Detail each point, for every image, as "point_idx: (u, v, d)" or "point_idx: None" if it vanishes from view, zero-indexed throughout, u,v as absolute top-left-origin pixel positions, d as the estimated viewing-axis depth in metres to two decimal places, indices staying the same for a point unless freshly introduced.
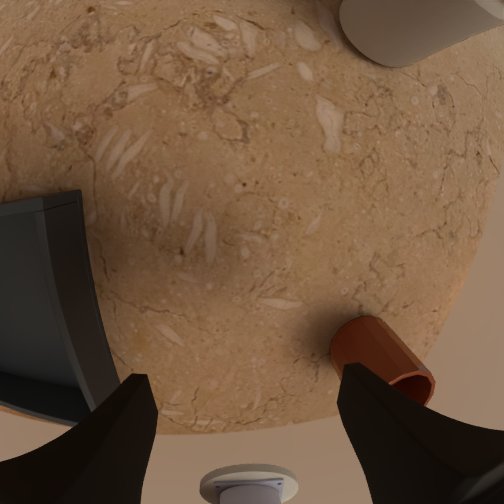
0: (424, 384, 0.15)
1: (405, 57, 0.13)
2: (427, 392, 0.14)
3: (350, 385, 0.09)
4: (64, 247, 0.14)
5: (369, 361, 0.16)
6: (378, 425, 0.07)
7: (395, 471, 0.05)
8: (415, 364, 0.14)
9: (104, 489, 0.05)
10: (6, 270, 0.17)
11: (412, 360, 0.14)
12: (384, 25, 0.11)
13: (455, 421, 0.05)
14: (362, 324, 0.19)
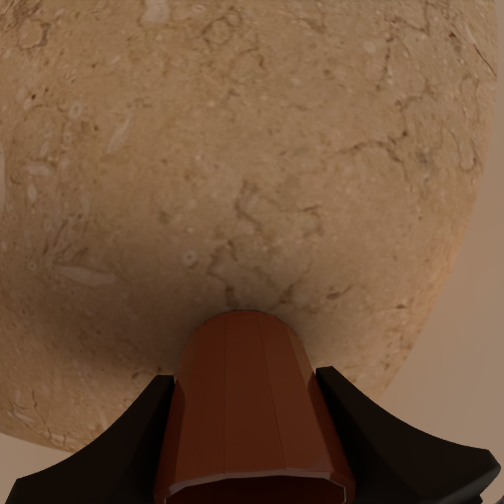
0: None
1: None
2: (342, 493, 0.05)
3: (321, 390, 0.09)
4: None
5: (186, 408, 0.07)
6: (345, 433, 0.07)
7: (360, 482, 0.05)
8: (285, 445, 0.05)
9: (139, 496, 0.05)
10: None
11: (284, 430, 0.05)
12: None
13: (425, 433, 0.05)
14: (225, 325, 0.10)
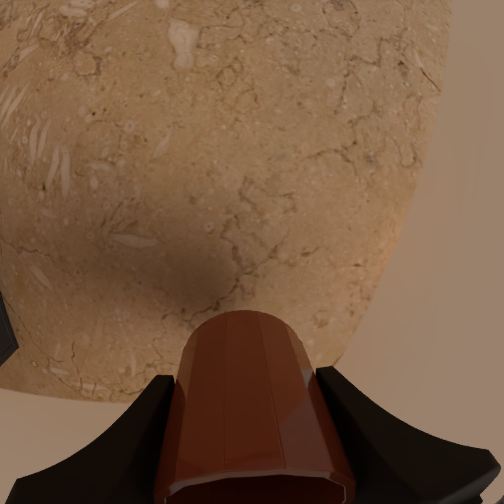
0: None
1: None
2: (342, 492, 0.05)
3: (321, 390, 0.09)
4: None
5: (186, 407, 0.07)
6: (345, 433, 0.07)
7: (360, 482, 0.05)
8: (285, 444, 0.05)
9: (140, 495, 0.05)
10: None
11: (284, 429, 0.05)
12: None
13: (425, 433, 0.05)
14: (225, 325, 0.10)
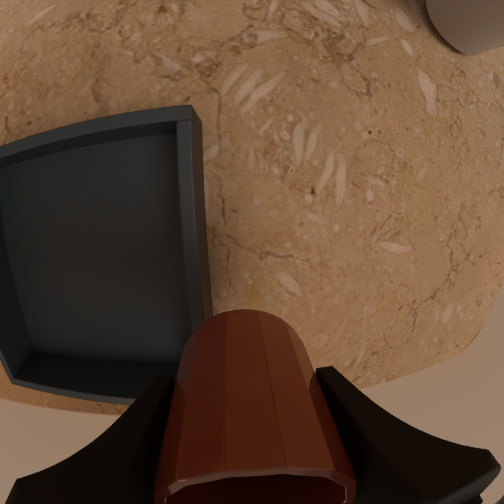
0: None
1: (480, 47, 0.12)
2: (343, 492, 0.05)
3: None
4: (197, 172, 0.14)
5: (186, 407, 0.07)
6: (345, 433, 0.07)
7: (360, 482, 0.05)
8: (286, 443, 0.05)
9: (139, 495, 0.05)
10: (79, 217, 0.16)
11: (285, 429, 0.05)
12: (472, 21, 0.10)
13: (425, 433, 0.05)
14: (226, 324, 0.10)
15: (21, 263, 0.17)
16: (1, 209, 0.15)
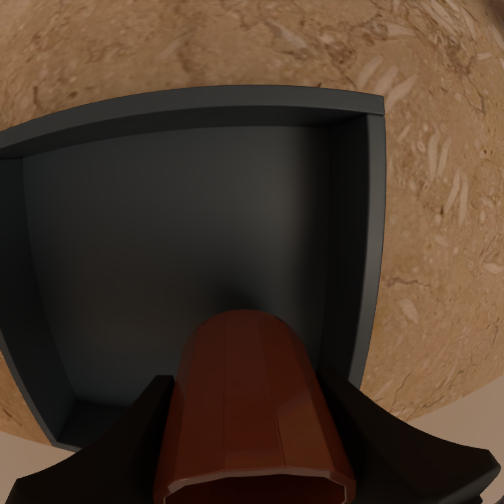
0: None
1: None
2: (342, 492, 0.05)
3: None
4: None
5: (186, 406, 0.07)
6: (345, 433, 0.07)
7: (360, 482, 0.05)
8: (285, 443, 0.05)
9: (139, 496, 0.05)
10: (160, 233, 0.13)
11: (284, 428, 0.05)
12: None
13: (425, 433, 0.05)
14: (225, 324, 0.10)
15: (59, 293, 0.13)
16: (26, 216, 0.12)
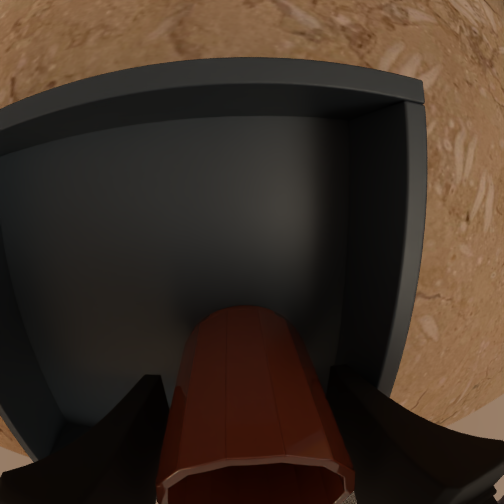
0: None
1: None
2: (341, 483, 0.06)
3: (336, 387, 0.09)
4: None
5: (188, 399, 0.07)
6: (362, 429, 0.07)
7: (378, 476, 0.05)
8: (285, 433, 0.05)
9: (122, 492, 0.05)
10: (147, 244, 0.10)
11: (284, 419, 0.06)
12: None
13: (441, 427, 0.05)
14: (227, 319, 0.10)
15: (39, 310, 0.11)
16: (1, 223, 0.10)
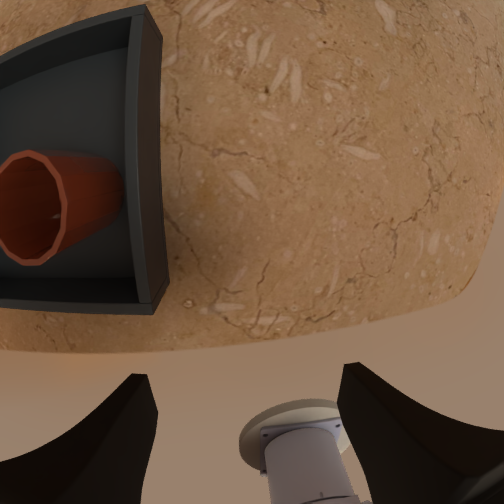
0: None
1: None
2: (64, 202, 0.10)
3: (350, 385, 0.09)
4: (149, 61, 0.12)
5: None
6: (378, 425, 0.07)
7: (395, 471, 0.05)
8: (38, 150, 0.10)
9: (103, 488, 0.05)
10: (47, 126, 0.15)
11: (44, 150, 0.10)
12: None
13: (456, 421, 0.05)
14: None
15: None
16: None
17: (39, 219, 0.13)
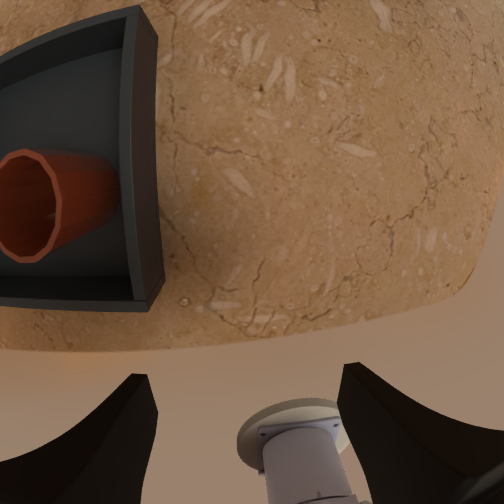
0: None
1: None
2: (59, 199, 0.10)
3: (350, 385, 0.09)
4: (143, 60, 0.12)
5: None
6: (378, 425, 0.07)
7: (395, 471, 0.05)
8: (34, 149, 0.10)
9: (103, 488, 0.05)
10: (44, 126, 0.15)
11: (40, 149, 0.10)
12: None
13: (455, 421, 0.05)
14: None
15: None
16: None
17: (36, 217, 0.14)
